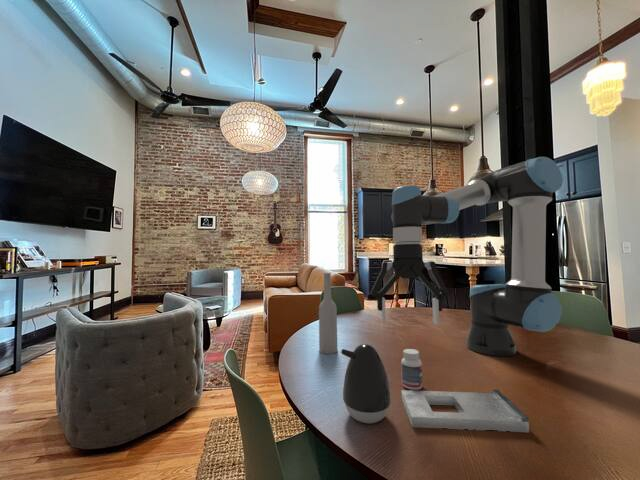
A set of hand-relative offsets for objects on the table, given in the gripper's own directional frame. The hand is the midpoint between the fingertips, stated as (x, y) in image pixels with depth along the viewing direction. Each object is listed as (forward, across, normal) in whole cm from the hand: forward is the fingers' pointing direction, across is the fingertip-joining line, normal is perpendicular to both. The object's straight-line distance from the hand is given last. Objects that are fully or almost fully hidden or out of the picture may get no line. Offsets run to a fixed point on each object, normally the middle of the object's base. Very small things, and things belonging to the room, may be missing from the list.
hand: (409, 323), depth 74 cm
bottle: (+16, +24, -25) cm, 38 cm away
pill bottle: (+16, 0, 0) cm, 16 cm away
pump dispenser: (+16, +13, +15) cm, 26 cm away
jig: (+16, -7, +12) cm, 22 cm away
